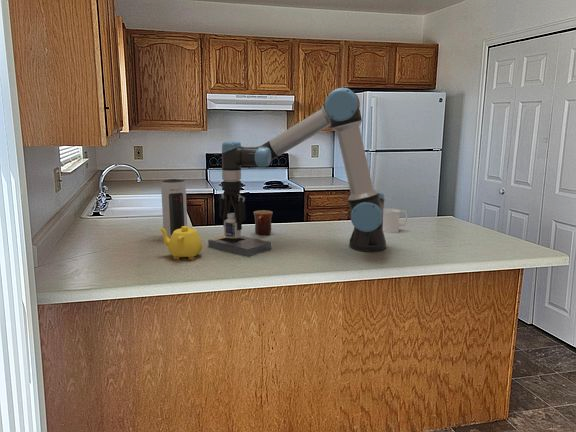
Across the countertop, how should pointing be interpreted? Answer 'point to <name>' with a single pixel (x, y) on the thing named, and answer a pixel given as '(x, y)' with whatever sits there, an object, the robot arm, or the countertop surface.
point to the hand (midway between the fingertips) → (232, 236)
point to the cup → (392, 220)
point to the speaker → (173, 205)
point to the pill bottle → (230, 225)
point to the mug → (263, 222)
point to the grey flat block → (240, 245)
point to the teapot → (183, 242)
